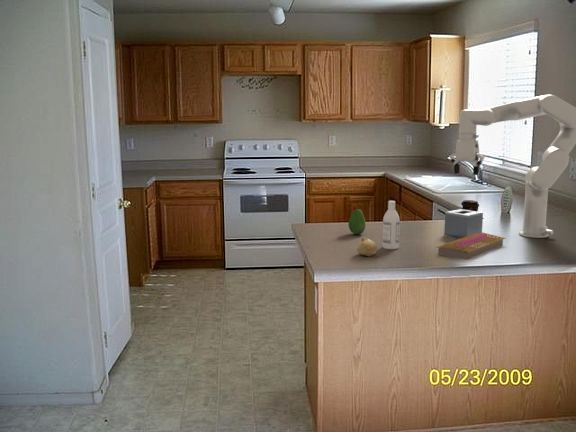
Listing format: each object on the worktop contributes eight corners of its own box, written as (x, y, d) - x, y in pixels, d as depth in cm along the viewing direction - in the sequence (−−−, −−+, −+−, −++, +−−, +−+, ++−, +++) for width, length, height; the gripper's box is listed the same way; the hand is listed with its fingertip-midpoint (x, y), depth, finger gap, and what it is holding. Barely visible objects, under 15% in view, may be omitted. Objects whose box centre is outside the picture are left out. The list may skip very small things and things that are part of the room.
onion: (375, 252, 248) (375, 235, 247) (378, 257, 240) (379, 240, 239) (355, 253, 248) (355, 236, 246) (358, 257, 240) (358, 240, 239)
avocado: (366, 233, 286) (367, 208, 283) (364, 236, 278) (364, 210, 276) (349, 232, 288) (350, 207, 286) (346, 235, 280) (347, 210, 278)
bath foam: (396, 245, 260) (397, 199, 256) (400, 249, 253) (402, 202, 250) (380, 246, 259) (381, 199, 256) (384, 249, 252) (385, 202, 249)
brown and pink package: (468, 261, 235) (469, 246, 234) (435, 255, 245) (435, 240, 244) (505, 246, 261) (506, 232, 260) (473, 241, 270) (474, 227, 269)
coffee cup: (458, 227, 298) (459, 201, 296) (461, 224, 306) (463, 199, 303) (476, 229, 294) (477, 202, 292) (479, 226, 302) (480, 200, 299)
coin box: (481, 235, 279) (483, 212, 277) (466, 239, 271) (468, 215, 269) (459, 231, 288) (460, 209, 286) (444, 235, 280) (445, 211, 278)
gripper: (489, 137, 274) (487, 174, 277) (455, 136, 286) (454, 172, 290) (480, 137, 269) (478, 176, 272) (446, 136, 281) (445, 173, 284)
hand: (466, 174), depth 281 cm, fingers open, 9 cm apart
